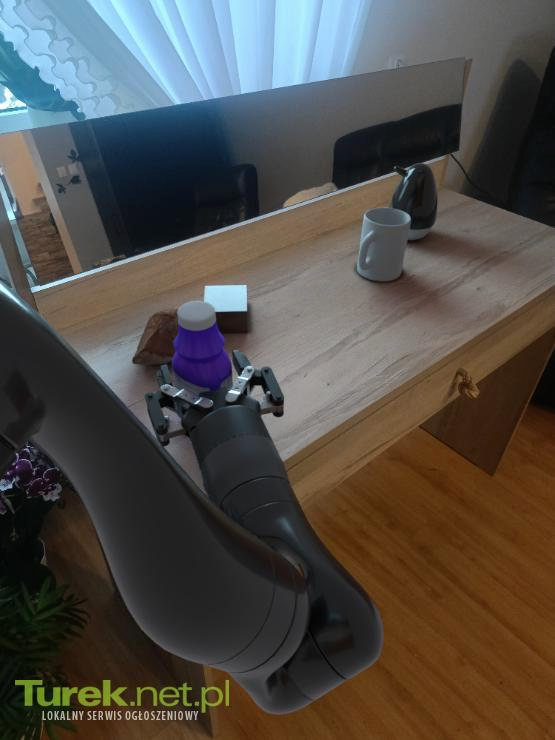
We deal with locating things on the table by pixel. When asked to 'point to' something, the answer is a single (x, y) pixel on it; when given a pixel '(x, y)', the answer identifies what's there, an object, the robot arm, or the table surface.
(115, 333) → the table surface
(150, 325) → the fossil
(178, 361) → the bottle
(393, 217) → the mug
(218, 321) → the walnut block
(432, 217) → the pump dispenser
